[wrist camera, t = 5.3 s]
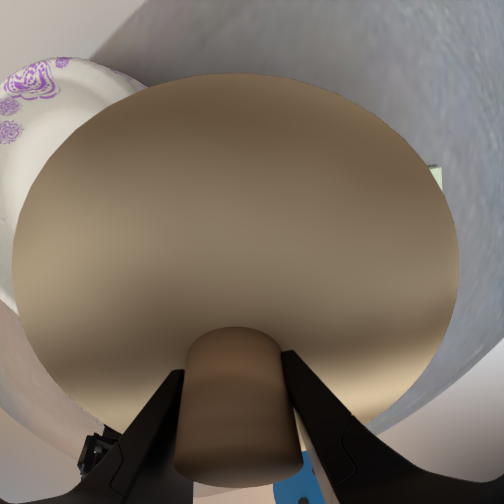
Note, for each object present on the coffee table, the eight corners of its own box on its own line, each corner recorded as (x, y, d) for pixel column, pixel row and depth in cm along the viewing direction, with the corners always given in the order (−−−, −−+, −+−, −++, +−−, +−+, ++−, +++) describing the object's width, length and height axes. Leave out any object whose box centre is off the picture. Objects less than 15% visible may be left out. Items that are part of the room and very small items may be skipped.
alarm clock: (300, 457, 36) (314, 537, 23) (266, 454, 35) (275, 541, 21) (356, 416, 32) (386, 511, 18) (320, 411, 30) (346, 520, 17)
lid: (414, 403, 13) (444, 467, 9) (140, 452, 14) (130, 516, 9) (437, 59, 6) (558, 51, 2) (-28, 191, 7) (-115, 242, 2)
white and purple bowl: (104, 34, 13) (42, 2, 6) (247, 183, 19) (255, 224, 12) (-1, 186, 17) (-63, 217, 10) (111, 306, 22) (76, 374, 15)
